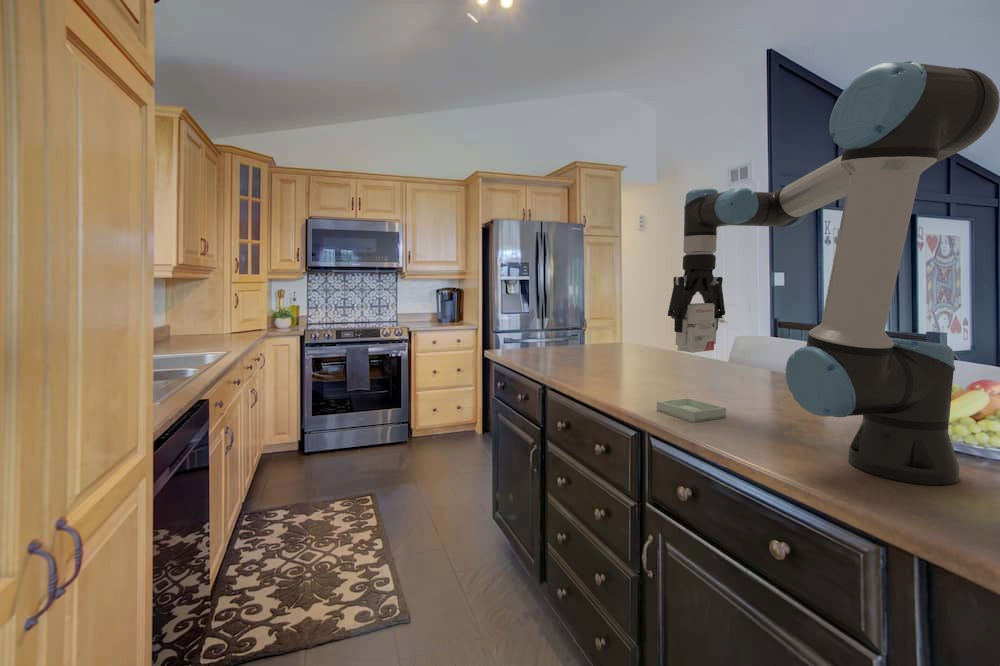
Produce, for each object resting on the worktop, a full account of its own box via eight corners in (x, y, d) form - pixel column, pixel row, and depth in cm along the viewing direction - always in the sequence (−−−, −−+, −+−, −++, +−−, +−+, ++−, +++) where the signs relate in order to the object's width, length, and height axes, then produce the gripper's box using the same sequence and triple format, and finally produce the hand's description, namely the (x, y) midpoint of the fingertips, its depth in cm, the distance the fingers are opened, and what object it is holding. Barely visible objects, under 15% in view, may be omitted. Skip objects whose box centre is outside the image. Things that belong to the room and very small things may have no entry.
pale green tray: (725, 417, 121) (726, 407, 121) (693, 422, 117) (693, 412, 117) (687, 406, 133) (687, 397, 133) (656, 410, 128) (656, 401, 128)
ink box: (697, 348, 128) (699, 302, 127) (714, 350, 124) (716, 303, 123) (675, 350, 123) (677, 303, 122) (692, 353, 119) (694, 304, 118)
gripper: (720, 255, 129) (716, 341, 131) (653, 254, 120) (650, 344, 123) (744, 254, 122) (739, 344, 124) (675, 252, 114) (672, 348, 116)
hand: (695, 344), depth 123 cm, fingers closed on ink box, 9 cm apart
